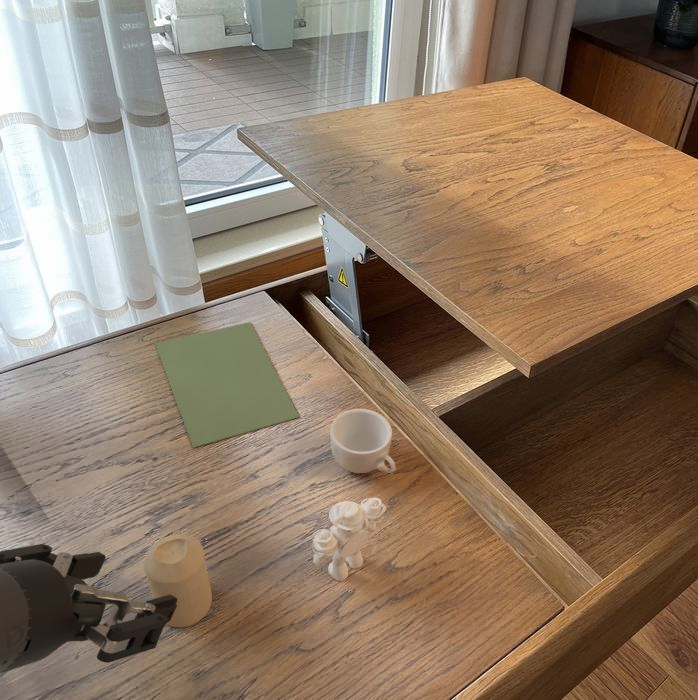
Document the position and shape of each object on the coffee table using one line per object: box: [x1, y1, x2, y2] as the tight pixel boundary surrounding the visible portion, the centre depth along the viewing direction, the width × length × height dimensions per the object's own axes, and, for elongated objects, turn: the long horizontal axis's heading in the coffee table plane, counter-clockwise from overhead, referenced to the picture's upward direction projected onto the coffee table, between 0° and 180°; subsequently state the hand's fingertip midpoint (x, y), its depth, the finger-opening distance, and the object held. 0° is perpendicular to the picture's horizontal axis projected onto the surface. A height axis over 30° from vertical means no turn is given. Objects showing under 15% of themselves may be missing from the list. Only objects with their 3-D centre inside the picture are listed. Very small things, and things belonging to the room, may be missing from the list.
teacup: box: [329, 408, 396, 474], centre depth 91 cm, size 10×8×5 cm
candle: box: [143, 533, 213, 628], centre depth 72 cm, size 6×6×10 cm
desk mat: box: [154, 321, 300, 449], centre depth 101 cm, size 14×22×1 cm, turn 30°
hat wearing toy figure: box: [311, 495, 387, 582], centre depth 77 cm, size 9×4×12 cm, turn 135°
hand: (134, 584), depth 65 cm, fingers open, 8 cm apart
